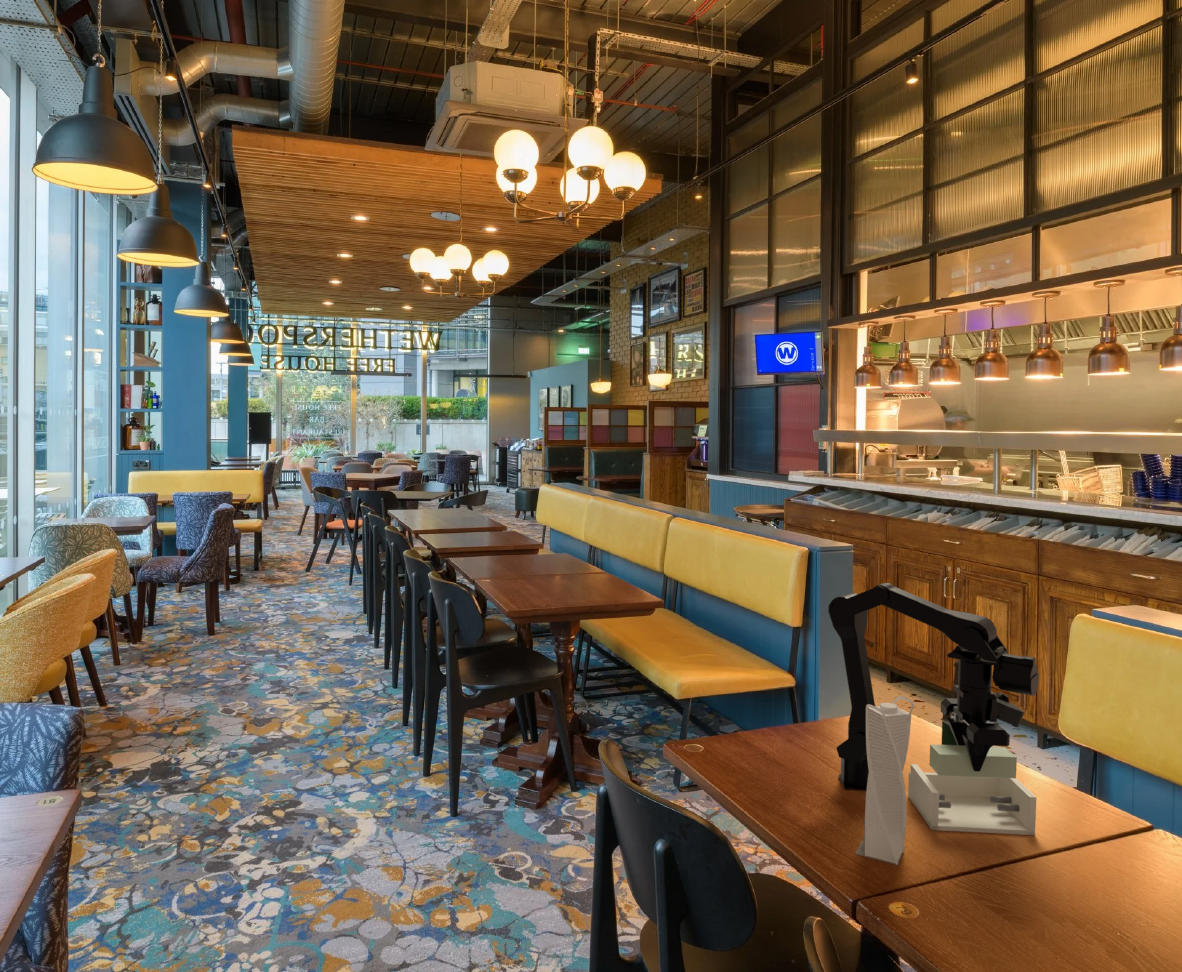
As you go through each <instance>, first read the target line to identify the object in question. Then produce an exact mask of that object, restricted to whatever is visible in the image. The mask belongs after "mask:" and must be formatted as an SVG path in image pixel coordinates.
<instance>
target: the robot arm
mask: <svg viewBox="0 0 1182 972" xmlns="http://www.w3.org/2000/svg"><path fill="white" fill-rule="evenodd" d="M879 606H884V607H886V608H889V609H891V610H893V611H895V612H898V613H900V614H902V615H905V616H906V617H909V618H912V619H914V620H916V621H918V622H921V623H923V624H925V625H927V626H929V627H932V628H934V629H935V630H937V631H940V633H942V634H944V635H945V636H946V637H947V638H948V639H949V641H952V642H953V643H955V644H956V646H955V647H954V649H953V650H952V651H951V652H948V653H947V654H946V657H947V658H948V659H955V660H959V672H958V685H954V684H953V685H954V691H955V692H957V693H958V697H957V699H954V698H951V697H949V698H948V697H945V698H944V699H943V700H942V701H941V702H940V712H941V714H942V715H943V714H944V715H945V716H948V715H949V712H951V718H946V720H947V722H948V724H949V726H950V728H951V731H952V733H953V735H954V738H955V740H956V743H957V745H960V746H966V748H967V751H968V755H969V758H970V761H971V764H972V767H973V770H974V771H978V772H979V771H980V770H981V768H982V766H983V763H984V761H985V758H986V756H987V753H988V751H989V749H990V748H991V747H1009V746H1010V739H1011V738H1010V736H1011V735H1010V734H1009V732H1008V731H1006V729H1004V728H1003V727H1002V726H1001V725H999V723H997V722H998V720H999V721H1002V722H1004V723H1007V724H1010V725H1011V726H1012V727H1014V728H1016V729H1017V728H1019V726H1020V724H1021V722H1022V719H1023V717H1024V715H1025V711H1024V710H1022V709H1021V708H1020V707H1018V706H1017V705H1015V704H1014V703H1012V702H1010V699H1009V696H1008V695H1006V694H1005V693H1002V692H999V691H997V692H996V693H994V692H993V691H992V682H993V683H994V686H996V687H998V689H999V690H1000V691H1005V692H1011V693H1015V694H1016V693H1017V694H1020V695H1021V694H1022V695H1026V696H1031V697H1034V696H1036V695H1037V692H1038V687H1039V682H1040V681H1039V680H1040V674H1039V671H1038V665H1037V664H1036V663H1037V658H1036V657H1034V656H1028V655H1026V656H1021V655H1016V654H1015V655H1014V654H1010V653H1009V650H1008V649H1007V647H1006V646H1005V644H1004V643H1003V642H1002V640H1001V639H1000V638H999V636H998V635H997V634H998V633H997V632H998V631H997V627H996V626H995V623H994V622H993V621H992V620H991V619H990V618H988V617H985V616H982V615H978V614H975V613H970V612H964V611H957V610H952V609H948V608H946V607H943V606H942V605H939V604H937V603H934V602H932V601H929V600H927V599H926V598H925V599H924V598H922V597H920V596H918V595H915V594H913V593H910V592H908V591H905V590H903V589H900V588H898V587H897V586H895V585H893V583H889V582H883V583H880V584H877V585H875V586H874V587H872V588H870V589H868V590H865V591H863V592H860V593H855V592H851V593H846V594H843V595H841V596H836V597H834V598H833V599H832V600H831V601H830V602H829V604H828V608H827V609H828V610H827V611H828V615H829V618H830V621H831V623H832V624H831V625H832V627H833V629H834V631H835V632H836V634H837V635H838V637H839V638H840V641H841V648H842V653H843V654H842V655H843V661H844V668H845V674H846V681H847V686H848V692H849V699H850V706H851V707H850V709H851V710H850V715H849V718H848V724H847V726H848V727H847V739H846V740H844V741H843V742H842V743H840V744H839V745H838V746H836V752H837V755H838V757H839V759H840V774H838V779H839V780H840V783H841V785H842V786H843V788H844V789H846V790H858V791H861V790H862V791H867V782H868V774H869V768H868V761H867V749H866V706H867V704H870V705H873V706H876V702H875V697H874V691H873V690H874V689H873V684H872V677H871V672H870V665H869V658H868V654H867V653H868V652H867V647H866V645H867V644H866V639H865V636H866V635H865V633H866V630H867V625H868V621H869V620H868V618H869V617H868V616H869V613H868V612H869V611H870V610H871V609H874V608H877V607H879ZM988 722H989V723H988Z"/></svg>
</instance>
